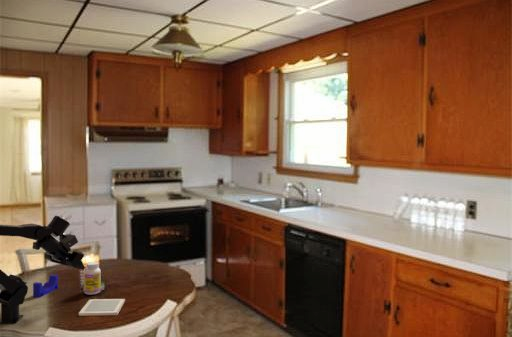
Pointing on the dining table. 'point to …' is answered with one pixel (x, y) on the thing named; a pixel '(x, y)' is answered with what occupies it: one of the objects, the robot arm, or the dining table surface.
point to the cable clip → (45, 287)
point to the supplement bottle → (92, 279)
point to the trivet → (102, 307)
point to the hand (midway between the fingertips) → (77, 267)
